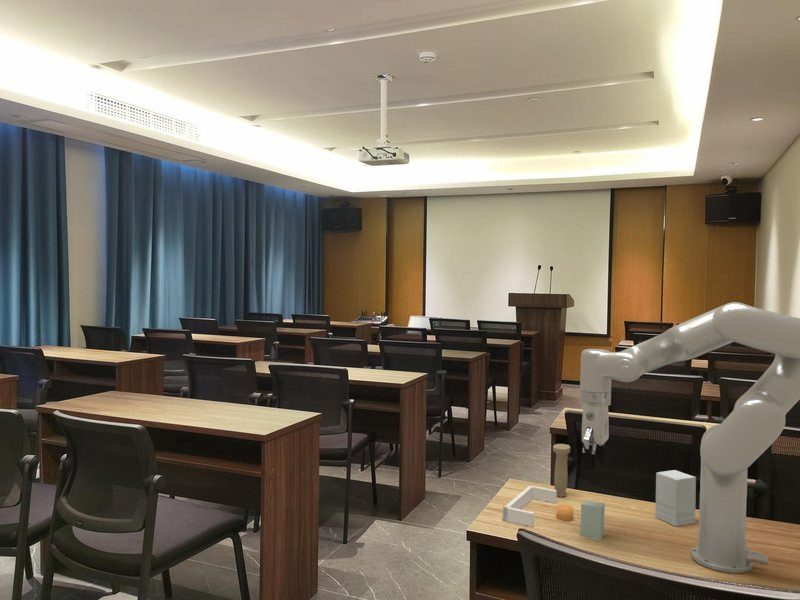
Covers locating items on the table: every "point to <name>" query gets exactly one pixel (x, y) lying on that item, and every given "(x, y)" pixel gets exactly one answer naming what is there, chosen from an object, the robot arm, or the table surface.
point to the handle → (561, 468)
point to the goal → (513, 508)
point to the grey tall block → (592, 519)
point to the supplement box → (675, 497)
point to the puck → (564, 513)
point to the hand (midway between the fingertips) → (593, 464)
